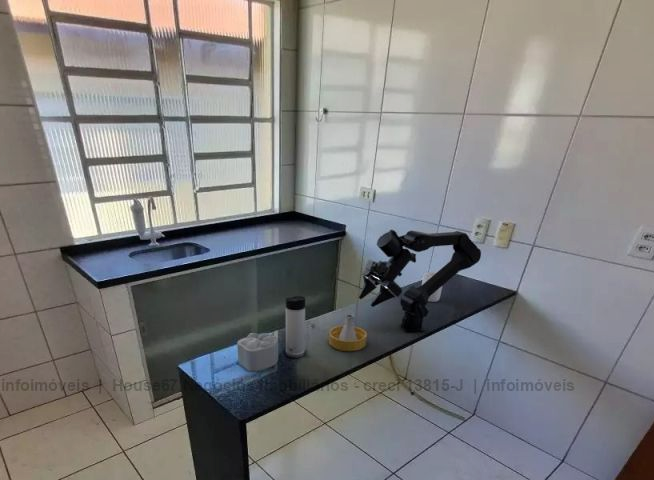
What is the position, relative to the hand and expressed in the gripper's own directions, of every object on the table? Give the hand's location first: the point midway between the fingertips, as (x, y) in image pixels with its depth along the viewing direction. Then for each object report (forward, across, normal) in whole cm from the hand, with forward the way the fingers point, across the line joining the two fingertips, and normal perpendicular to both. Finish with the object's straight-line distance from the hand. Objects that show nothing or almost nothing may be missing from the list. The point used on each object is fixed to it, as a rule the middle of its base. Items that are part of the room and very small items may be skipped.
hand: (365, 302), depth 140 cm
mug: (-22, -29, +44) cm, 57 cm away
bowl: (+15, +2, +4) cm, 15 cm away
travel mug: (+28, +4, -11) cm, 31 cm away
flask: (+15, +2, +4) cm, 15 cm away
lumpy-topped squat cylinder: (+36, +5, -20) cm, 42 cm away
